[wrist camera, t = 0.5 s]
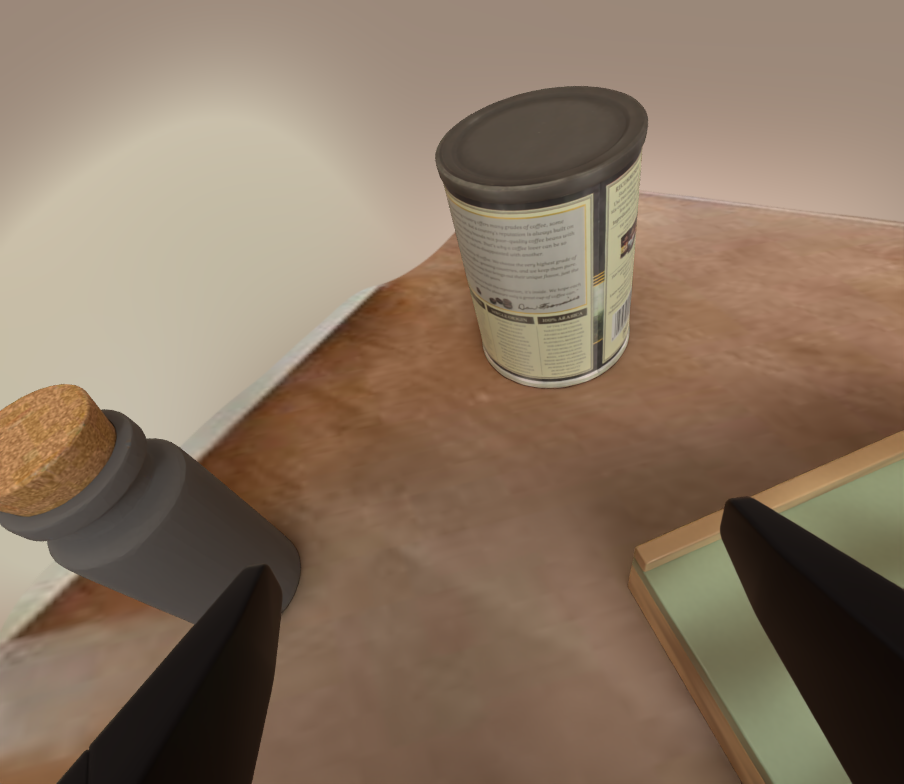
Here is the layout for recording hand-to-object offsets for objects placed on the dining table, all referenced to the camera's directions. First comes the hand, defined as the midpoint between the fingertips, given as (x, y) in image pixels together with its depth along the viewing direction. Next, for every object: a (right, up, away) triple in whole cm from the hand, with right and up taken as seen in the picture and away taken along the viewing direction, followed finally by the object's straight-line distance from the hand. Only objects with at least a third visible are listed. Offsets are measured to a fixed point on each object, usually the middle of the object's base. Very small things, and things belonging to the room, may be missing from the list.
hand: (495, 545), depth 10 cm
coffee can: (+6, +7, +25) cm, 27 cm away
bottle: (-12, -8, +18) cm, 23 cm away
